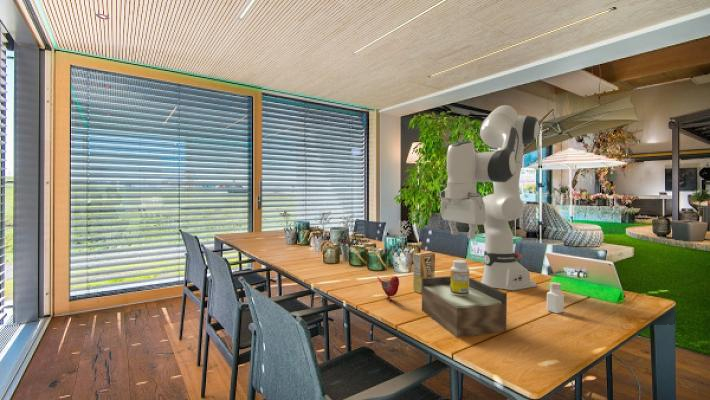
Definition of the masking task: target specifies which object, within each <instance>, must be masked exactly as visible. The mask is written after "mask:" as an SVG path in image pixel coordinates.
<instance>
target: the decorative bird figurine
mask: <svg viewBox="0 0 710 400" xmlns="http://www.w3.org/2000/svg"><path fill="white" fill-rule="evenodd" d="M377 279H378V281H379V282H380V284H381V288H382V290H383V291H384V293H385V294H386V295H387V297H386V299H387V300H389V301H390V302H394V300H393V299H392V298H391V297H394V296H396V295H397V293H398V290H399V286H400V279H399V277H398V276H396V275H395V276H392V277H391V278H390V279H386V280H382V279H381V278H380V277H379V276H377Z"/></svg>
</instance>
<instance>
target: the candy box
mask: <svg viewBox="0 0 710 400" xmlns="http://www.w3.org/2000/svg"><path fill="white" fill-rule="evenodd" d="M435 267H436V253H435V252H433V251H423V252H417V253H413V276H412V277H413V279H412V281H413V282H412V283H413V284H412V285H413V287H412V291H413V292H414V293H415V292H416V293H419V294H422V278H431V277H435V275H436V274H435V271H436V268H435Z"/></svg>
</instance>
